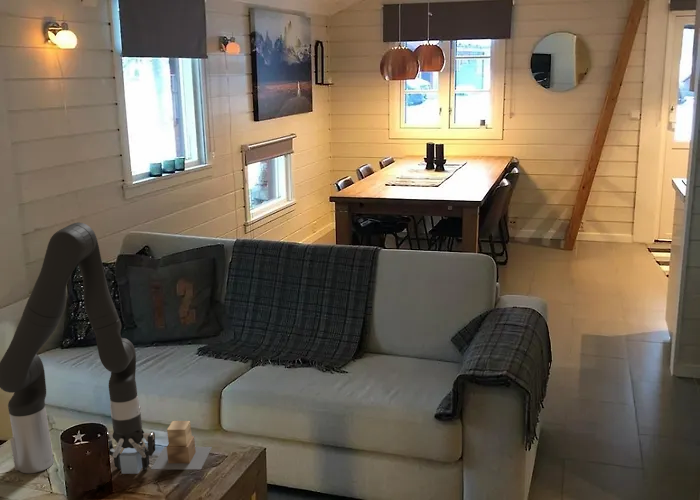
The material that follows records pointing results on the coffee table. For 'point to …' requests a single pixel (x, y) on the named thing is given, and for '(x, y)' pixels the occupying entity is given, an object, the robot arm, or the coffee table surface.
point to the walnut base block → (181, 452)
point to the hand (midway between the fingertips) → (132, 467)
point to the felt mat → (195, 463)
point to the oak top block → (179, 433)
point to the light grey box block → (130, 461)
